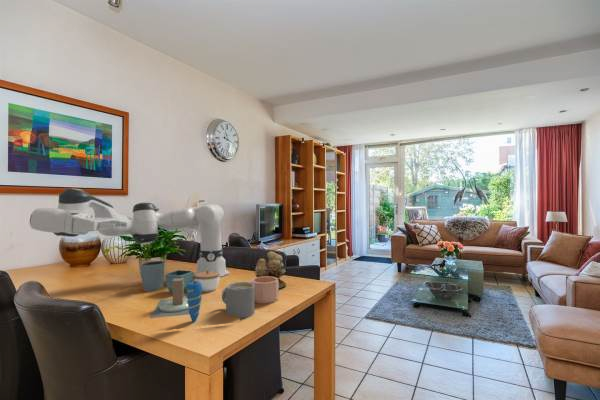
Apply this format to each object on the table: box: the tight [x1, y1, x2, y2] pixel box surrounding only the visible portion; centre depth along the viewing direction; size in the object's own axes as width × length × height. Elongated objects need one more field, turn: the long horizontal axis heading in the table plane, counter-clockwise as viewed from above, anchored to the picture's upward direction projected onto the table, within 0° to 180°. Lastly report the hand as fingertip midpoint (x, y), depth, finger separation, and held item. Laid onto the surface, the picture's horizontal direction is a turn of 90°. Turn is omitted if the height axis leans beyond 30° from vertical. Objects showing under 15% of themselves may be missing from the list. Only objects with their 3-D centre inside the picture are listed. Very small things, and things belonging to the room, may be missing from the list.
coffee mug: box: [221, 281, 255, 319], centre depth 110 cm, size 13×10×10 cm
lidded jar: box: [194, 270, 221, 293], centre depth 136 cm, size 11×11×9 cm
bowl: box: [250, 276, 280, 305], centre depth 124 cm, size 11×11×8 cm
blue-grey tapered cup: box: [139, 260, 165, 292], centre depth 142 cm, size 10×10×12 cm
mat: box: [149, 297, 203, 319], centre depth 115 cm, size 20×16×1 cm
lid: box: [159, 278, 189, 312], centre depth 115 cm, size 13×13×10 cm
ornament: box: [185, 278, 203, 323], centre depth 100 cm, size 5×5×15 cm
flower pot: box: [164, 269, 195, 294], centre depth 134 cm, size 9×9×9 cm
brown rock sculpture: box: [254, 251, 287, 291], centre depth 141 cm, size 18×12×17 cm, turn 137°
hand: (120, 225), depth 113 cm, fingers open, 8 cm apart
